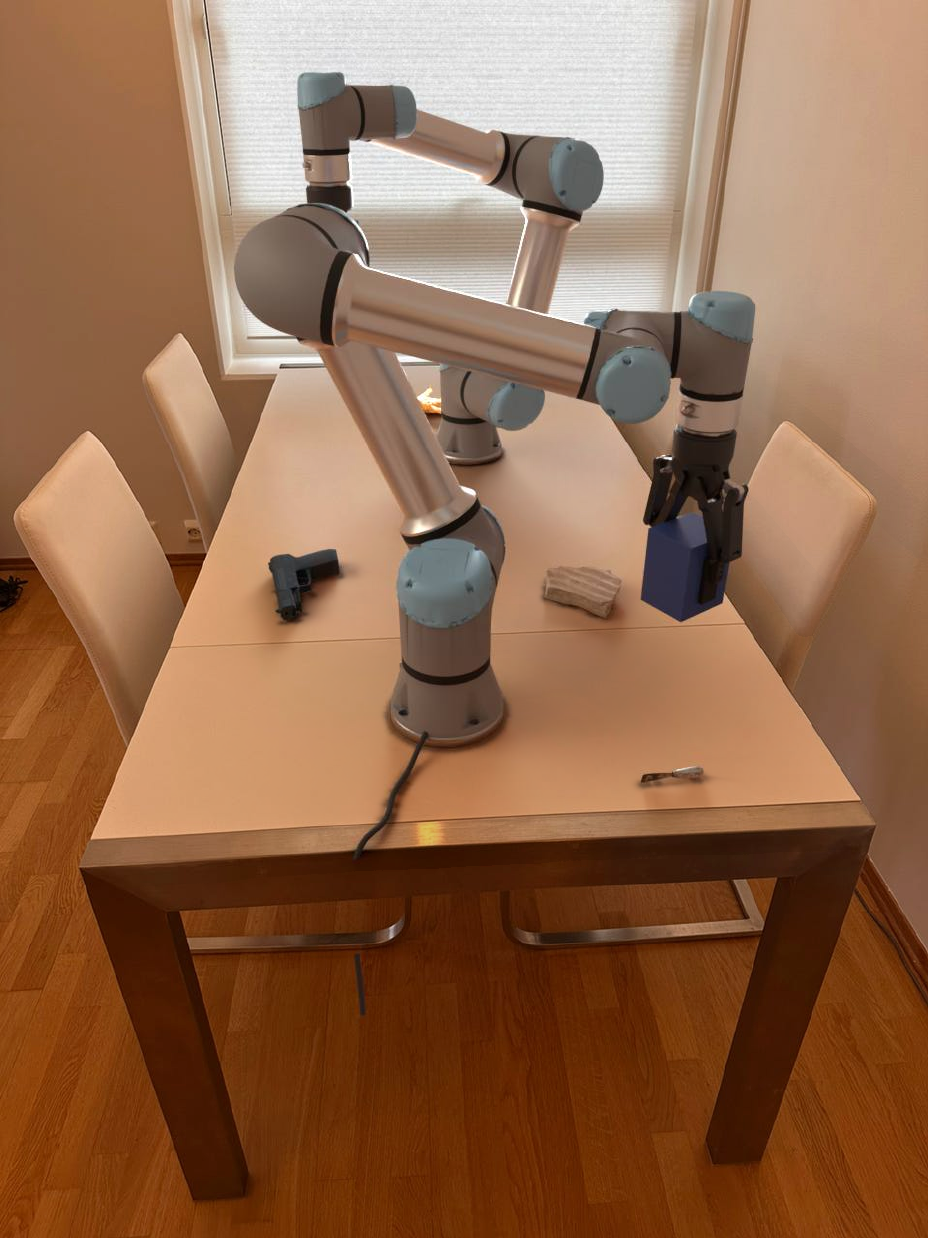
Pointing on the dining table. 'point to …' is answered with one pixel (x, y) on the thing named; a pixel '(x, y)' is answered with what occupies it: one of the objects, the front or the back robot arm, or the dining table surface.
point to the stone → (583, 588)
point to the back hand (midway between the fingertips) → (339, 318)
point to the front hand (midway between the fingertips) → (683, 588)
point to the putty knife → (674, 774)
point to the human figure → (429, 402)
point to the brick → (678, 568)
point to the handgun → (299, 577)
